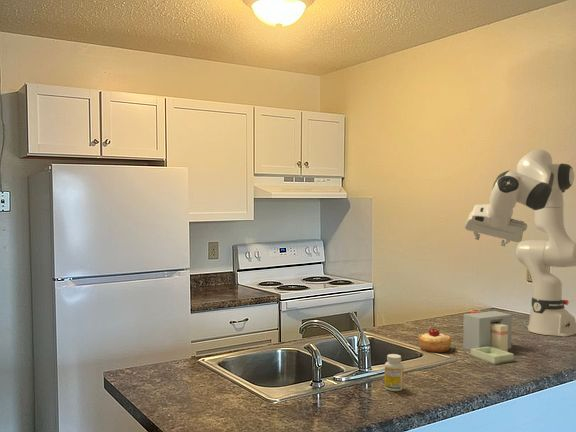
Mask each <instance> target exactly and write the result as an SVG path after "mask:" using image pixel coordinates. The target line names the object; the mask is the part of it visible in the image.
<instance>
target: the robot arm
mask: <svg viewBox="0 0 576 432" xmlns="http://www.w3.org/2000/svg"><path fill="white" fill-rule="evenodd" d="M495 178H496V179H495V181H494V182H493V185H492V189H491V193H490V196H489V203H484V204H474V206H473V210H472V211H470V213H469V214H468V216H467V219H466V221H465V224H464V225H465V226H464V229H465V230H467V231H470V232H473V235H474V236H475V237H474V240H478V241H479V240H480V236H481V235H485V236H491V237H495V238H498V239H502V240H501V242H500V246H501V247H506V245H507V244H508V243H510V242H516V243H518V244H517V245H516V248H515V256H516V258H517V259H516V260H517V261H519V262H520V263H521V264H522V265H523V266H524V267H525V268H526V269H527V270H528V272H529V275H530V278H531V281H532V284H531V285H532V297H531V302H530V303H531V309H530V312H529V313H530V314H529V323H528V324H527V325H526V326H527V330H528V331H529V332H531V333H534V334H537V335H545V336H557V337H564V338H565V337H566V338H567V337H570V336H572V335H573V336H574V335H576V318H575V316H574V315H572V314H571V313H570V312H569V311H568V310H567V309H566V308H565V305H566V306H569V303H570V301H569V300H568V299H562V295H563V294H562V289H563V287H562V286H563V285H562V284H563V283H562V280H560V278H559V277H558V276H556V275H555V274H552V273H551V272H550V271H549V270H548V267H552V268H553V267H554V268H555V267H556V268H569V267H570V268H571V267H576V242H575V241H573V239H571V238H570V235H568V233H567V231H566V228H565V224H564V223H565V222H564V221H565V220H564V194H563V193H566V191H567V190H569V189H570V188H571V187H572V186H573V184H574V180H575V171H574V168H573V167H572V166H571V165H570V164H569V163H553V158H552V155H551V153H549V152H548V151H547V150H543V149H534V150H532V151H530V152H529V151H528V153H526V154H525V155H523V156H522V157H521V158H520V159H519V160H518V163H517V165H516V171H515V170H509V169H508V170H506V171H504V172H502V173H499V174H498V175H497V177H495ZM517 203H519V204H521V205H523V206H526V207H527V208H529V209H531V210H532V211H533V210H534V221H533V222H534V225H535V228H537V230H540V232H542V233H545V234H546V235H547V238H548V240H545V239H527V240H526V239H525V240H523V236H524V232H526V230H527V228H528V224H527V223H526V222H525V221H522V220H520V219H516V218H512V217H513V215H514V214H513V213H514V208H515V207H516V204H517Z"/></svg>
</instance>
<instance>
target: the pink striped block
mask: <svg viewBox="0 0 576 432" xmlns="http://www.w3.org/2000/svg"><path fill="white" fill-rule="evenodd" d="M490 347H493V348H496V349H500V350H503V351H506V352H509V349H508V326H507V325H503V324H499V323H496V322H494V323H491V338H490Z"/></svg>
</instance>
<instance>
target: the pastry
mask: <svg viewBox="0 0 576 432" xmlns="http://www.w3.org/2000/svg"><path fill="white" fill-rule="evenodd" d="M437 328H440V329H442V330H443V331H445V330H444V328H443V327H442V326H440V325H436V327H435V328H430V329H428V333H427V332H425V333H422V334H421V333H420V334H419V336H418V344H419V347H420V349H421V350H422V351H425V352H429V353H446V352H448V351H449V350H450V347H451V344H452V338H451V336H450V335H448V334H444V333H440V331H439V330H438V329H437Z"/></svg>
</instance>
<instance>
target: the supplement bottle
mask: <svg viewBox="0 0 576 432" xmlns="http://www.w3.org/2000/svg"><path fill="white" fill-rule="evenodd" d="M386 360H387V361H385V363H384V389H385V390H387V391H390V392H401V391H402V390H403V389H404V364H403V363H402V356H401V355H400V354H396V353H390V354H387V356H386Z"/></svg>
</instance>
